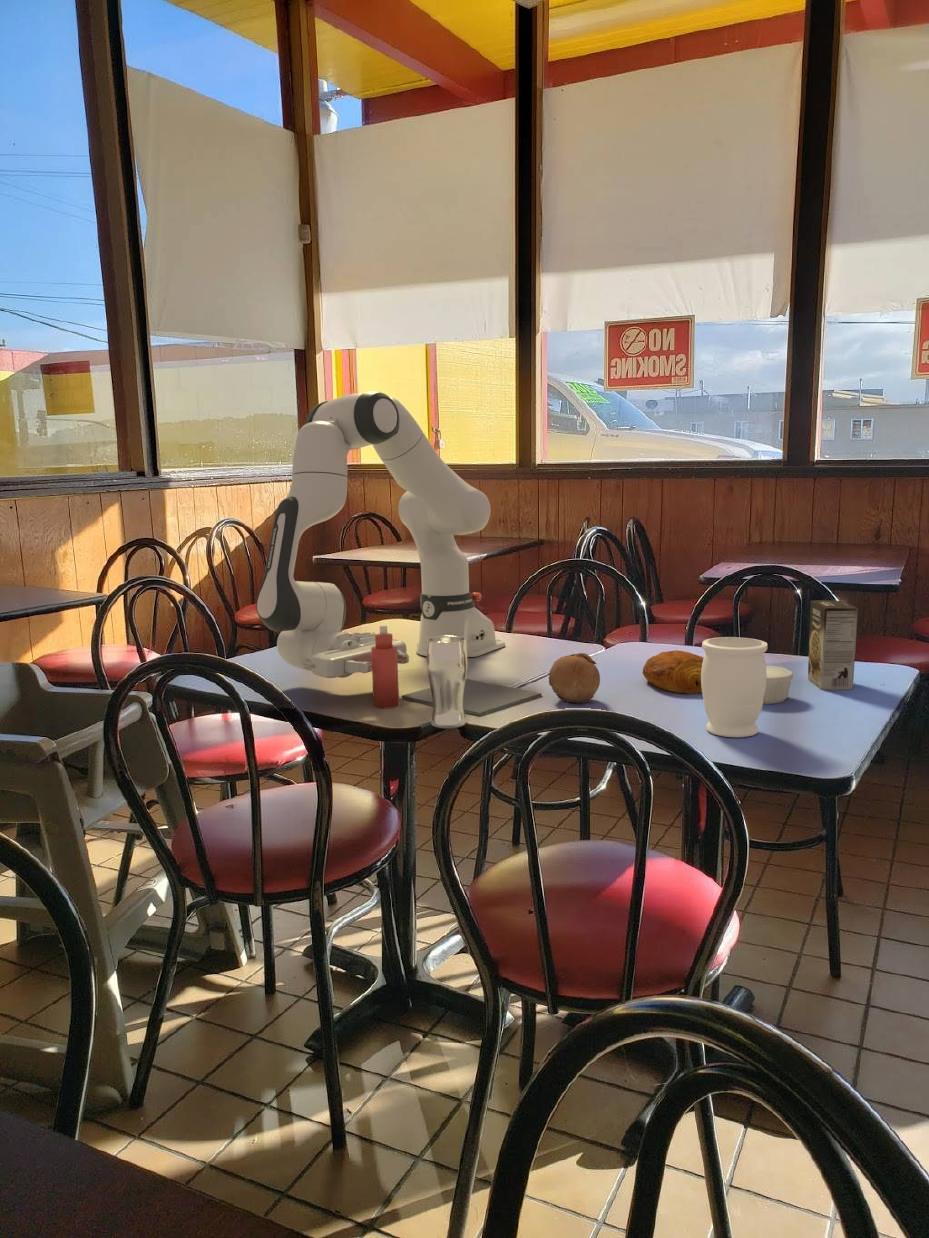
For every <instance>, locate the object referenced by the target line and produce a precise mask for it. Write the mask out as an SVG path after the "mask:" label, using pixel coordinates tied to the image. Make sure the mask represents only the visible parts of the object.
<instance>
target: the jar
mask: <svg viewBox="0 0 929 1238" xmlns="http://www.w3.org/2000/svg"><path fill="white" fill-rule="evenodd" d="M701 643H702V644H701V648H702V649H703V650H704V656H703V657H704V658H703V663H702V670H701V687H702V692H701V694H702V700H703V707H704V710H705V714H706V716H707V718H708V719H709V720H708V723H706V727H705V728H706V731H707V732H709V733H711V734H713V735H716V736H720V737H724V738H725V737H726V738H749V737H752V736H755V735H756V734H757V733H758V732H759V728H758V726H757V723H756V722H757V721H758V719H759V717H760V715H761V712H762V708H763V705H764V704H763V698H764V694H765V690H766V681H767V672H766V665H767V663H766V659H765V655H764V653H765V652H767V651H768V643H767V642H766V641H764V640H760V639H755V638H751V637H750V638H749V637H740V636H739V637H738V636H737V637H736V636H725V637H724V636H721V637H720V636H719V637H713V638H711V637H710V638H707V639H704V640H702V642H701Z"/></svg>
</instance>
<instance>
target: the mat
mask: <svg viewBox="0 0 929 1238" xmlns="http://www.w3.org/2000/svg"><path fill="white" fill-rule="evenodd" d="M542 694H543V692H538V691H533V690H527V689H524V688H523V689H522V688H517V687H512V686H507V685H502V684H496V683H491V682H486V681H481V680H476V679H471V678H466V685H465V691H464V699H463V706H464V713H465V714H469V715H473V714H474V716H477V715H479V716H478V717H481V716H483V714H484V715H487V714H490V713H489V712H491V713H493V712H496V711H499V710H502V709H505V708H509V707H513V706H515V705H518V704H521V703H520V702H522V703H524V702H528V701H530V699H531V700H533V698H534V699H537V698H540V697H542ZM401 699H402V700H405V701H406V700H407V701H412V702H415V703H420V704H425V705H429V706H433V699H432V693H431V688H430V687H428V688H424V689H421V690H418V691H413V692H411V693H406V694H403V695H401ZM486 713H487V714H486ZM480 715H481V716H480Z"/></svg>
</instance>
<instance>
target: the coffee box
mask: <svg viewBox="0 0 929 1238" xmlns="http://www.w3.org/2000/svg"><path fill="white" fill-rule="evenodd" d="M809 612H810V615H809V636H808V637H809V641H808V661H807V662H808V665H807V666H808V667H807V668H808V669H807V680H808V681H811V683H813V684H814V685H815V686H816V687H817V688H819V689H820V690H825V691H829V690H831V691H832V690H835V691H837V690H846V691H847V690H849V691H850V690H851V691H853V690H854V677H855V676H854V675H855V658H856V644H857V643H856V641H857V627H858V626H857V624H858V608H857V607H856V606H854V605H852V604H850V603H848V602H845V601H843V600H826V599H823V600H822V599H821V600H819V599H818V600H810V609H809Z"/></svg>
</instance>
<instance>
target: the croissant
mask: <svg viewBox="0 0 929 1238" xmlns="http://www.w3.org/2000/svg"><path fill="white" fill-rule="evenodd" d="M703 658H704V656H700V655H698V654H695V653H691V652H689V651H684V650H677V649H676V650H668V651H661V652H659V653H658V654H656V655H652V656H651V657H650V658H648V659H647V660H646V662H645V664H644V665H643V667H642V675H643V677H644V678H645V679H646V681H647V682H648V683H650V684H652V685H654V686H656V687H658V688H660V689H662V690H664V691H669V692H672V693H676V694H677V693H678V694H683V693H684V694H688V695H689V694H697V693H702V687H701V670H702V663H703Z"/></svg>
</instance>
